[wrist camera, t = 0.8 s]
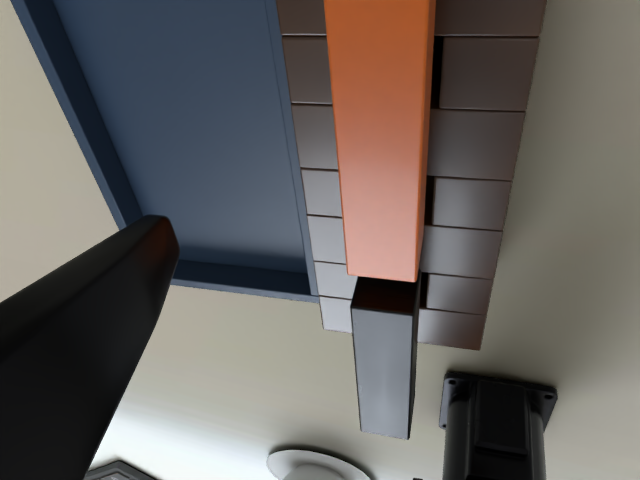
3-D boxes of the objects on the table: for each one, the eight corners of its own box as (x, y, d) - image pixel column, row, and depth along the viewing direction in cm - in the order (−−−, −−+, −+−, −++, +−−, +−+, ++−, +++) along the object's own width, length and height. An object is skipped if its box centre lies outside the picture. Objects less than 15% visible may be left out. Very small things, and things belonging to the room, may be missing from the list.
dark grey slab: (429, 277, 28) (409, 440, 21) (390, 273, 28) (360, 432, 22) (438, 146, 22) (414, 315, 16) (390, 144, 23) (349, 307, 16)
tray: (331, 276, 29) (322, 304, 28) (158, 257, 32) (143, 281, 30) (282, -143, 16) (262, -130, 15) (-3, -121, 19) (-43, -108, 17)
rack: (482, 277, 27) (480, 351, 24) (342, 262, 28) (322, 330, 25) (548, -113, 15) (561, -70, 12) (308, -99, 17) (265, -58, 14)
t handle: (440, 116, 21) (416, 283, 15) (390, 114, 22) (346, 276, 15) (456, -123, 16) (430, -19, 9) (389, -119, 16) (321, -17, 10)
